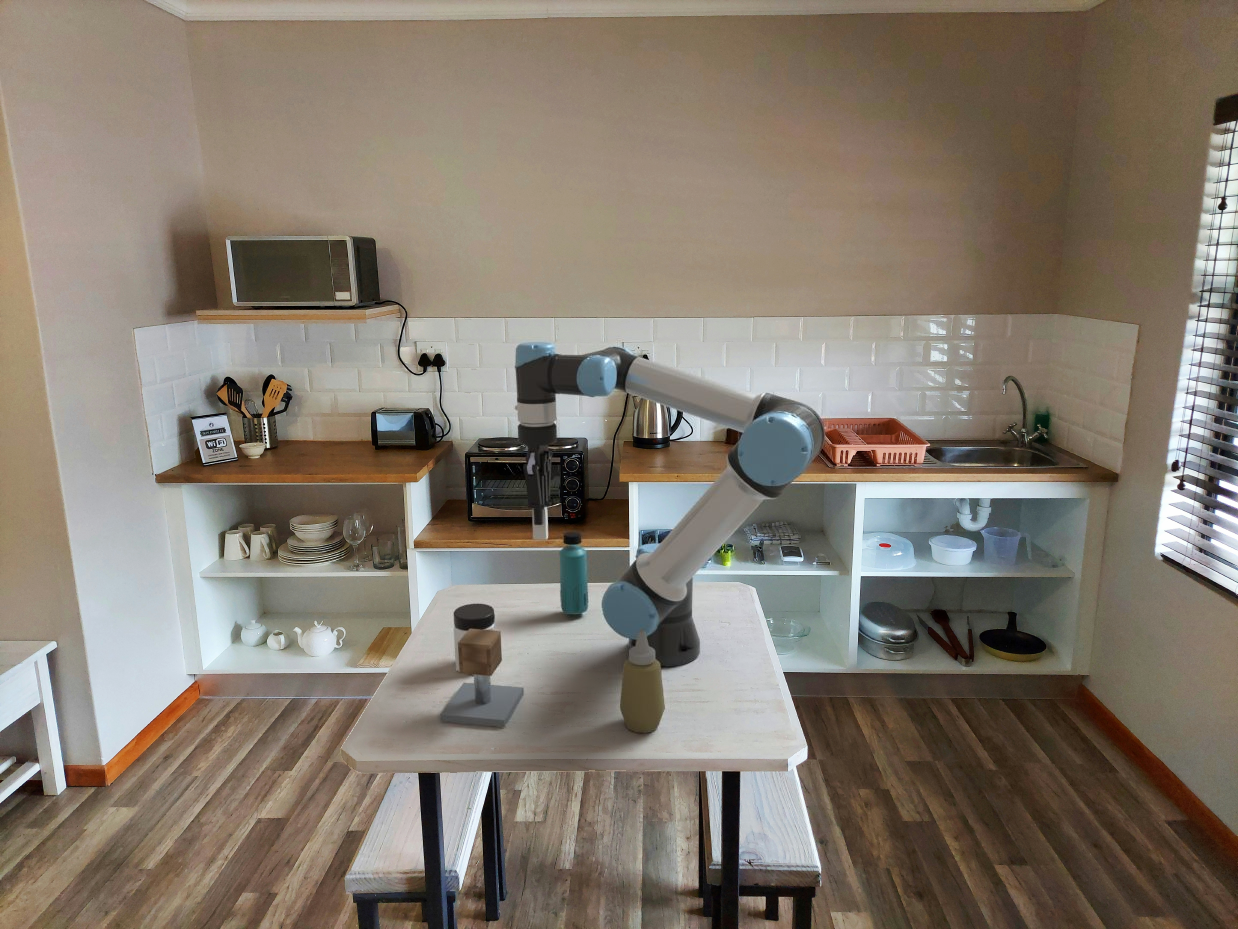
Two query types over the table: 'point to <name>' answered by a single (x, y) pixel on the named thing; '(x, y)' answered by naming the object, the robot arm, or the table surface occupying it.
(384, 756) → the table surface
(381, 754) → the table surface
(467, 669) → the brown wooden cube
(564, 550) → the beverage bottle
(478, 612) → the jar
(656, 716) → the squeeze bottle
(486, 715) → the base plate
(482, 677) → the post
